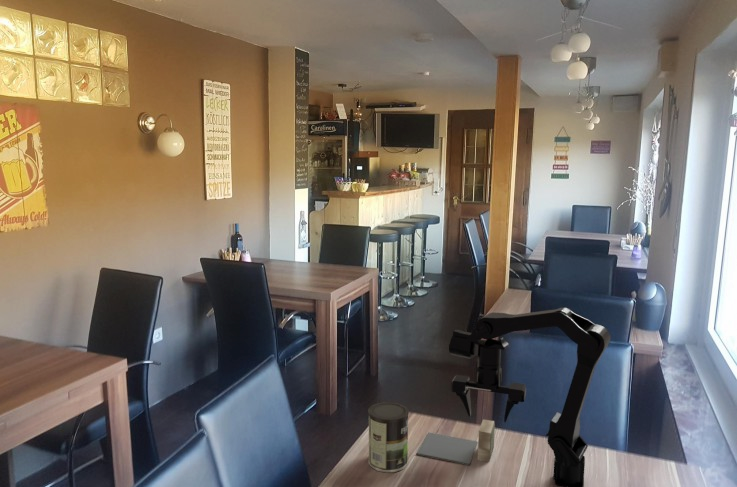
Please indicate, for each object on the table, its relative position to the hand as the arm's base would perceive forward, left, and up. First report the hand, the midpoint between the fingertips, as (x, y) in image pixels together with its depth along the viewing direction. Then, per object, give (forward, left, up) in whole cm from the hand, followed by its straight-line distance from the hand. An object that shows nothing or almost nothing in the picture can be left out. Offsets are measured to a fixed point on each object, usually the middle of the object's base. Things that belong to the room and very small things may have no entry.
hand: (487, 418), depth 142 cm
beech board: (0, 0, -10) cm, 10 cm away
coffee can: (+23, +13, -10) cm, 28 cm away
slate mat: (+10, +1, -10) cm, 14 cm away
